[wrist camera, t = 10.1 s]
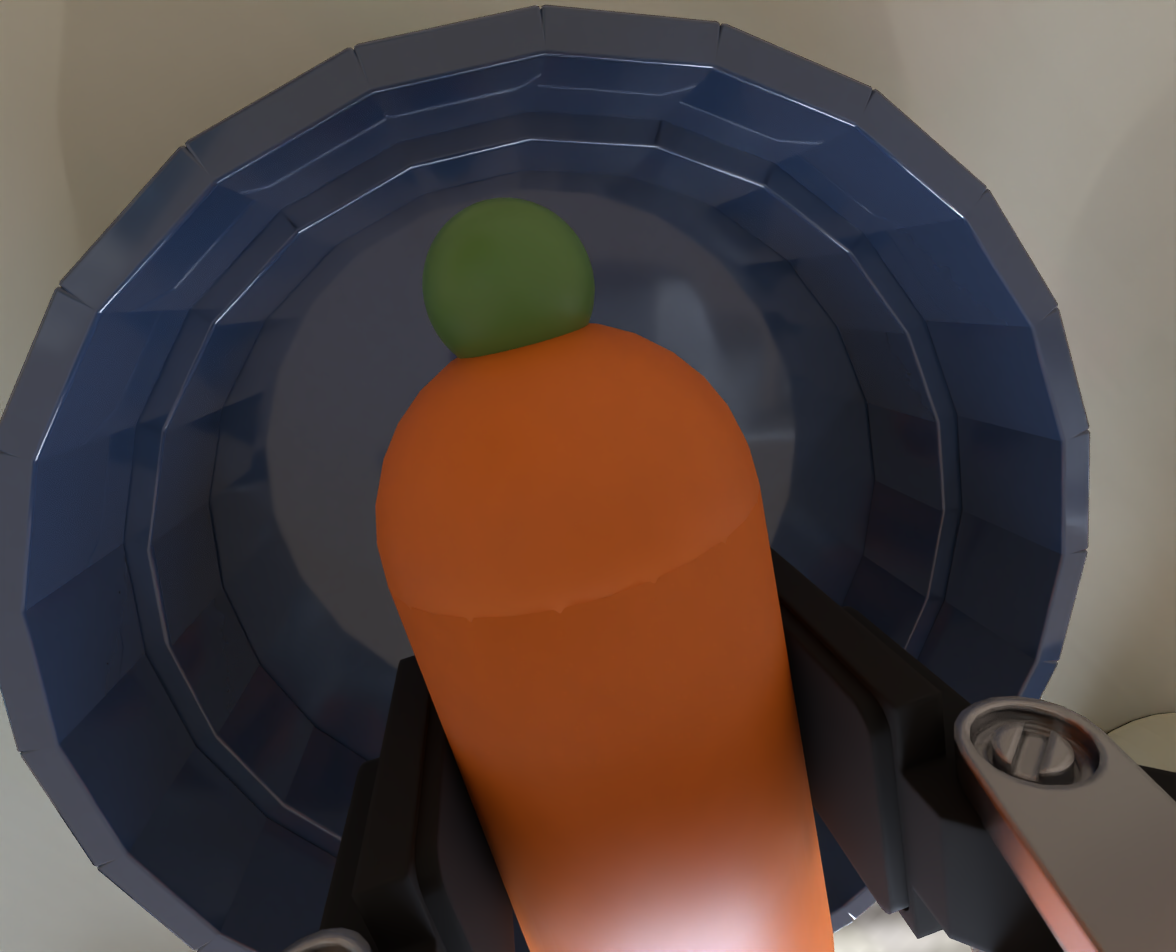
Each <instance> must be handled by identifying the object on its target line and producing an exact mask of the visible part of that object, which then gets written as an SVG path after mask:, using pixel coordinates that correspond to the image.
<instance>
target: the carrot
mask: <svg viewBox="0 0 1176 952" xmlns="http://www.w3.org/2000/svg"><path fill="white" fill-rule="evenodd" d="M422 289H423V298H424V303H425V307H426V311H427V314H428V317H429V319H430V322H431V324H432V326H433V328H434V330H435V331H436V333H437V335H438V336H439V338H440V339H441V340H442V342H443V343H444V344H445V345H446V346H447V348H448V349H449V350H450V351H451V352H452V353H453V354H455V355H456V356H457V358H456V359H454V360H453V361H451V362H450V363H449V364H448V365H447V366H446V367H445V368H444V369H443V370H442V371H440V372H439V373H438V374H437V375H436V376H435V377H434V378H433V379H432V380H431V381H430V382H429V383H428V384H427V385H426V386H425V387H424V388H423V389H422V390H421V391H420V392H419V393H418V395H417V396H416V398H415V399H414V401H413V402H412V404H411V405H410V407H409V408H408V410H407V411H406V413H405V414H404V415H403V417H402V418H401V420H400V421H399V423H398V425H397V427H396V430H395V432H394V435H393V437H392V440H391V442H390V444H389V447H388V449H387V452H386V454H385V457H384V460H383V465H382V471H381V476H380V482H379V488H378V494H377V499H376V505H375V509H376V535H377V547H378V551H379V554H380V558H381V562H382V566H383V570H384V573H385V577H386V581H387V584H388V588H389V590H390V593H391V595H392V598H393V600H394V603H395V606H396V608H397V611H398V613H399V616H400V618H401V621H402V624H403V626H404V629H405V631H406V634H407V636H408V639H409V642H410V644H411V647H412V649H413V652H414V654H415V657H416V660H417V662H418V665H419V667H420V670H421V672H422V675H423V678H424V680H425V683H426V685H427V688H428V690H429V693H430V696H431V698H432V701H433V703H434V706H435V708H436V711H437V714H438V716H439V719H440V721H441V724H442V726H443V729H444V732H445V734H446V737H447V739H448V742H449V744H450V747H451V750H452V752H453V755H454V757H455V760H456V762H457V765H458V768H459V770H460V773H461V775H462V778H463V780H464V783H465V786H466V788H467V791H468V793H469V796H470V798H471V801H472V804H473V806H474V809H475V811H476V814H477V817H478V819H479V822H480V824H481V827H482V829H483V832H484V835H485V837H486V840H487V842H488V845H489V847H490V850H491V853H492V855H493V858H494V860H495V863H496V865H497V868H498V871H499V873H500V876H501V878H502V881H503V883H504V886H505V889H506V891H507V894H508V896H509V899H510V901H511V904H512V907H513V909H514V912H515V914H516V917H517V919H518V922H519V925H520V927H521V930H522V932H523V935H524V937H525V940H526V943H527V945H528V948H529V950H530V952H834V941H833V929H832V923H831V917H830V911H829V905H828V898H827V892H826V886H825V880H824V874H823V868H822V862H821V856H820V850H819V844H818V837H817V831H816V825H815V819H814V813H813V807H812V801H811V795H810V789H809V782H808V776H807V770H806V764H805V758H804V752H803V746H802V740H801V734H800V728H799V721H798V715H797V709H796V703H795V697H794V691H793V685H792V679H791V673H790V666H789V660H788V654H787V648H786V642H785V636H784V630H783V624H782V618H781V612H780V605H779V599H778V593H777V587H776V581H775V575H774V569H773V563H772V557H771V550H770V544H769V538H768V532H767V526H766V520H765V514H764V508H763V502H762V496H761V489H760V484H759V480H758V477H757V473H756V469H755V466H754V462H753V459H752V455H751V452H750V448H749V446H748V444H747V441H746V439H745V437H744V435H743V433H742V431H741V429H740V427H739V425H738V424H737V422H736V420H735V418H734V416H733V414H732V412H731V410H730V408H729V407H728V405H727V404H726V402H725V401H724V400H723V399H722V398H721V396H720V395H719V394H718V393H717V392H716V390H715V389H714V388H713V387H712V386H711V384H710V383H709V382H708V381H707V380H706V378H705V377H704V376H703V375H701V374H700V373H699V372H698V371H696V370H695V369H694V368H692V367H691V366H690V365H689V364H687V363H686V362H685V361H684V360H682V359H681V358H680V357H678V356H677V355H676V354H675V353H673V352H671V351H670V350H668V349H666V348H664V347H662V346H660V345H658V344H656V343H654V342H652V341H650V340H648V339H646V338H644V337H642V336H640V335H637V334H635V333H632V332H628V331H624V330H621V329H617V328H613V327H609V326H605V325H601V324H595V323H589V321H590V318H591V315H592V310H593V305H594V296H595V284H594V276H593V270H592V266H591V263H590V259H589V257H588V254H587V252H586V250H585V247H584V246H583V244H582V242H581V241H580V239H579V237H578V236H577V235H576V233H575V232H574V231H573V230H572V228H571V227H570V226H569V225H568V224H567V223H566V222H565V221H564V220H563V219H562V218H560V217H559V216H558V215H556V214H555V213H554V212H552V211H550V210H549V209H547V208H545V207H543V206H541V205H539V204H536V203H534V202H531V201H527V200H523V199H518V198H493V199H487V200H484V201H481V202H477V203H474V204H472V205H470V206H468V207H466V208H464V209H463V210H461V211H460V212H458V213H457V214H455V215H454V216H453V217H452V218H451V219H450V220H449V221H448V222H447V223H446V224H445V225H444V226H443V227H442V228H441V230H440V231H439V232H438V234H437V235H436V237H435V239H434V240H433V242H432V244H431V246H430V249H429V251H428V253H427V257H426V260H425V264H424V270H423V284H422Z"/></svg>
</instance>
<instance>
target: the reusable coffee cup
mask: <svg viewBox="0 0 1176 952" xmlns="http://www.w3.org/2000/svg"><path fill="white" fill-rule="evenodd" d="M1107 735H1108V736H1109V737H1110V738H1111V739H1112V740H1113V741H1114V742H1115V743H1116V744H1117V745H1118V746H1119V747H1120V748H1121V749H1122V750H1123V751H1124V752H1125V753H1126V754H1127V755H1128V756H1129V757H1130V758H1131V759H1133V760H1134V761H1135V762H1136V763H1137V764H1138V765H1143V766H1147V767H1152V768H1157V769H1162V770H1166V771H1171V772H1176V713H1166V714H1158V715H1152V716H1149V717H1145V718H1142V719H1139V720H1135V721H1132V722H1130V723H1128V724H1126V725H1124V726H1122V727H1120V728H1117V729H1115V730H1113V731H1111V732H1110V733H1108V734H1107Z"/></svg>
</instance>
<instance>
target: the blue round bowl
mask: <svg viewBox="0 0 1176 952" xmlns="http://www.w3.org/2000/svg"><path fill="white" fill-rule="evenodd" d="M185 144H186V147H185V146H181V147H179V148H178V149H177V150H176V151H175V153H174V154H173V155H172V156H171V157H170V158H169V159H168V160H167V162H166V163H165V164H164V165H163V166H162V167H161V168H160V169H159V171H158V172H157V173H156V174H155V175H154V176H153V177H152V179H151V180H150V181H149V182H148V183H147V184H146V185H145V186H144V188H143V189H142V190H141V191H140V192H139V193H138V194H137V195H136V197H135V198H134V199H133V200H132V201H131V202H130V203H129V204H128V206H127V207H126V208H125V209H124V210H123V211H122V212H121V213H120V215H119V216H118V217H117V218H116V219H115V220H114V221H113V222H112V224H111V225H110V226H109V227H108V228H107V229H106V230H105V231H104V233H103V234H102V235H101V236H100V237H99V238H98V239H97V240H96V242H95V243H94V244H93V245H92V246H91V247H90V248H89V249H88V251H87V252H86V253H85V254H84V255H83V256H82V257H81V258H80V260H79V261H78V262H77V263H76V264H75V265H74V266H73V267H72V269H71V270H70V271H69V272H68V273H67V274H66V275H65V276H64V278H63V279H62V280H61V281H60V286H61V287H57V288H56V289H55V291H54V293H53V295H52V298H51V300H50V303H49V305H48V307H47V310H46V312H45V314H44V317H43V319H42V322H41V324H40V326H39V329H38V331H37V334H36V336H35V338H34V341H33V343H32V346H31V348H30V350H29V353H28V355H27V357H26V360H25V362H24V365H23V367H22V369H21V372H20V374H19V377H18V379H17V381H16V384H15V386H14V389H13V391H12V393H11V396H10V398H9V400H8V403H7V405H6V408H5V410H4V412H3V415H2V417H1V420H0V690H1V693H2V697H3V700H4V704H5V708H6V711H7V715H8V718H9V722H10V725H11V729H12V733H13V736H14V740H15V743H16V747H17V750H18V751H19V752H21V753H20V754H21V757H22V758H23V760H24V761H25V763H26V764H27V766H28V767H29V769H30V770H31V772H32V773H33V775H34V776H35V778H36V779H37V781H38V782H39V784H40V785H41V787H42V788H43V790H44V791H45V793H46V794H47V796H48V797H49V799H50V801H51V802H52V804H53V805H54V807H55V808H56V810H57V811H58V813H59V814H60V816H61V817H62V819H63V820H64V822H65V823H66V825H67V826H68V828H69V829H70V831H71V832H72V834H73V835H74V837H75V838H76V840H77V841H78V843H79V844H80V846H81V847H82V849H83V850H84V852H85V853H86V855H87V856H88V858H89V859H90V861H91V862H92V864H93V865H94V866H98V867H97V868H98V870H99V871H100V872H101V873H102V874H104V875H105V876H106V877H107V878H108V879H109V880H111V881H112V882H113V883H114V884H115V885H117V886H118V887H119V888H120V889H121V890H123V891H124V892H125V893H126V894H127V895H128V896H130V897H131V898H132V899H133V900H134V901H136V902H137V903H138V904H139V905H140V906H142V907H143V908H144V909H145V910H146V911H147V912H149V913H150V914H151V915H152V916H153V917H155V918H156V919H157V920H158V921H159V922H160V923H162V924H163V925H164V926H165V927H166V928H168V929H169V930H170V931H171V932H172V933H174V934H175V935H176V936H177V937H178V938H179V939H181V940H182V941H183V942H184V943H185V944H187V945H188V946H189V947H190V948H191V949H193V950H197V952H281V951H283V950H284V949H286V948H287V947H289V946H290V945H292V944H293V943H294V942H296V941H297V940H299V939H300V938H303V937H305V936H308V935H310V934H313V933H315V932H317V931H319V929H320V925H321V921H322V917H323V913H324V908H325V904H326V900H327V896H328V892H329V888H330V884H331V880H332V876H333V871H334V867H335V863H336V859H337V855H338V851H339V847H340V843H341V839H342V834H343V830H344V826H345V822H346V818H347V814H348V810H349V806H350V802H351V797H352V793H353V789H354V785H355V781H356V777H357V773H358V771H359V768H360V766H361V765H362V764H363V763H364V762H366V761H369V760H372V759H376V758H379V757H380V753H381V748H382V743H383V738H384V733H385V728H386V723H387V718H388V713H389V708H390V704H391V699H392V694H393V689H394V684H395V679H396V674H397V669H398V664H399V662H400V660H402V659H404V658H408V657H411V656H414V655H415V654H414V652H413V649H412V647H411V644H410V642H409V639H408V636H407V634H406V631H405V629H404V626H403V624H402V621H401V618H400V616H399V613H398V611H397V608H396V606H395V603H394V600H393V598H392V595H391V593H390V590H389V588H388V584H387V581H386V577H385V573H384V570H383V566H382V562H381V558H380V554H379V551H378V547H377V535H376V509H375V505H376V499H377V494H378V488H379V482H380V476H381V471H382V465H383V460H384V457H385V454H386V452H387V449H388V447H389V444H390V442H391V440H392V437H393V435H394V432H395V430H396V427H397V425H398V423H399V421H400V420H401V418H402V417H403V415H404V414H405V413H406V411H407V410H408V408H409V407H410V405H411V404H412V402H413V401H414V399H415V398H416V396H417V395H418V393H419V392H420V391H421V390H422V389H423V388H424V387H425V386H426V385H427V384H428V383H429V382H430V381H431V380H432V379H433V378H434V377H435V376H436V375H437V374H438V373H439V372H440V371H442V370H443V369H444V368H445V367H446V366H447V365H448V364H449V363H450V362H451V361H453V360H454V359H456V358H457V356H456V355H455V354H453V353H452V352H451V351H450V350H449V349H448V348H447V346H446V345H445V344H444V343H443V342H442V340H441V339H440V338H439V336H438V335H437V333H436V331H435V330H434V328H433V326H432V324H431V322H430V319H429V317H428V314H427V311H426V307H425V303H424V298H423V289H422V284H423V270H424V264H425V260H426V257H427V253H428V251H429V249H430V246H431V244H432V242H433V240H434V239H435V237H436V235H437V234H438V232H439V231H440V230H441V228H442V227H443V226H444V225H445V224H446V223H447V222H448V221H449V220H450V219H451V218H452V217H453V216H454V215H455V214H457V213H458V212H460V211H461V210H463V209H464V208H466V207H468V206H470V205H472V204H474V203H477V202H481V201H484V200H487V199H493V198H518V199H523V200H527V201H531V202H534V203H536V204H539V205H541V206H543V207H545V208H547V209H549V210H550V211H552V212H554V213H555V214H556V215H558V216H559V217H560V218H562V219H563V220H564V221H565V222H566V223H567V224H568V225H569V226H570V227H571V228H572V230H573V231H574V232H575V233H576V235H577V236H578V237H579V239H580V241H581V242H582V244H583V246H584V247H585V250H586V252H587V254H588V257H589V259H590V263H591V266H592V270H593V276H594V284H595V296H594V305H593V310H592V315H591V318H590V321H589V323H595V324H601V325H605V326H609V327H613V328H617V329H621V330H624V331H628V332H632V333H635V334H637V335H640V336H642V337H644V338H646V339H648V340H650V341H652V342H654V343H656V344H658V345H660V346H662V347H664V348H666V349H668V350H670V351H671V352H673V353H675V354H676V355H677V356H678V357H680V358H681V359H682V360H684V361H685V362H686V363H687V364H689V365H690V366H691V367H692V368H694V369H695V370H696V371H698V372H699V373H700V374H701V375H703V376H704V377H705V378H706V380H707V381H708V382H709V383H710V384H711V386H712V387H713V388H714V389H715V390H716V392H717V393H718V394H719V395H720V396H721V398H722V399H723V400H724V401H725V402H726V404H727V405H728V407H729V408H730V410H731V412H732V414H733V416H734V418H735V420H736V422H737V424H738V425H739V427H740V429H741V431H742V433H743V435H744V437H745V439H746V441H747V444H748V446H749V448H750V452H751V455H752V459H753V462H754V466H755V469H756V473H757V477H758V480H759V484H760V489H761V496H762V502H763V508H764V514H765V520H766V526H767V532H768V538H769V544H770V547H771V548H772V549H774V550H775V551H776V552H777V553H778V554H779V555H781V556H782V557H783V558H784V559H785V560H787V561H788V562H789V563H790V564H791V565H792V566H794V567H795V568H796V569H797V570H798V571H799V572H801V573H802V574H803V575H804V576H805V577H807V578H808V579H809V580H810V581H811V582H812V583H814V584H815V585H816V586H817V587H818V588H819V589H821V590H822V591H823V592H824V593H825V594H827V595H828V596H829V597H830V598H831V599H832V600H834V601H835V602H836V603H837V604H838V605H839V606H841V607H844V606H849V607H852V608H854V609H855V610H857V611H859V612H860V613H861V614H862V615H863V616H865V617H866V618H867V619H868V620H870V621H871V622H872V623H873V624H874V625H876V626H877V627H878V628H879V629H880V630H882V631H883V632H884V633H885V634H887V635H888V636H889V637H890V638H891V639H893V640H894V641H895V642H896V643H897V644H899V645H900V646H901V647H902V648H904V649H905V650H906V651H907V652H908V653H910V654H911V655H912V656H913V657H914V658H916V659H917V660H918V661H919V662H921V663H922V664H923V665H924V666H925V667H927V668H928V669H929V670H930V671H931V672H933V673H934V674H935V675H936V676H938V677H939V678H940V679H941V680H942V681H944V682H945V683H946V684H947V685H949V686H950V687H951V688H952V689H953V690H955V691H956V692H957V693H958V694H959V695H961V696H962V697H963V698H964V699H966V700H967V701H968V702H969V703H970V704H973V703H974V702H977V701H981V700H984V699H988V698H992V697H1005V696H1019V697H1027V698H1034V699H1040V698H1041V696H1042V694H1043V692H1044V690H1045V688H1046V686H1047V684H1048V682H1049V680H1050V678H1051V676H1052V674H1053V672H1054V670H1055V668H1056V667H1057V665H1058V662H1057V661H1058V660H1059V659H1060V656H1061V652H1062V648H1063V645H1064V641H1065V637H1066V633H1067V629H1068V626H1069V622H1070V618H1071V614H1072V610H1073V606H1074V603H1075V599H1076V595H1077V591H1078V587H1079V583H1080V580H1081V576H1082V572H1083V568H1084V564H1085V561H1086V557H1087V550H1086V549H1087V548H1088V534H1089V467H1090V432H1089V431H1088V429H1089V423H1088V420H1087V416H1086V412H1085V408H1084V404H1083V400H1082V396H1081V392H1080V388H1079V384H1078V381H1077V377H1076V373H1075V369H1074V365H1073V361H1072V357H1071V353H1070V349H1069V346H1068V342H1067V338H1066V334H1065V330H1064V326H1063V322H1062V318H1061V314H1060V311H1059V309H1058V308H1057V306H1058V303H1057V302H1056V300H1055V298H1054V297H1053V295H1052V293H1051V292H1050V290H1049V288H1048V287H1047V285H1046V283H1045V282H1044V280H1043V278H1042V277H1041V275H1040V273H1039V272H1038V270H1037V268H1036V267H1035V265H1034V263H1033V262H1032V260H1031V258H1030V257H1029V255H1028V253H1027V252H1026V250H1025V248H1024V247H1023V245H1022V243H1021V242H1020V240H1019V238H1018V237H1017V235H1016V233H1015V232H1014V230H1013V228H1012V227H1011V225H1010V223H1009V222H1008V220H1007V218H1006V217H1005V215H1004V213H1003V212H1002V210H1001V208H1000V207H999V205H998V203H997V202H996V200H995V198H994V197H993V195H992V193H991V192H990V190H989V189H986V188H987V187H986V185H984V184H983V183H982V182H981V181H980V180H979V179H978V178H976V177H975V176H974V175H973V174H972V173H971V172H970V171H969V170H967V169H966V168H965V167H964V166H963V165H962V164H961V163H959V162H958V161H957V160H956V159H955V158H954V157H953V156H952V155H950V154H949V153H948V152H947V151H946V150H945V149H944V148H943V147H941V146H940V145H939V144H938V143H937V142H936V141H935V140H933V139H932V138H931V137H930V136H929V135H928V134H927V133H926V132H924V131H923V130H922V129H921V128H920V127H919V126H918V125H916V124H915V123H914V122H913V121H912V120H911V119H910V118H909V117H907V116H906V115H905V114H904V113H903V112H902V111H901V110H900V109H898V108H897V107H896V106H895V105H894V104H893V103H892V102H890V101H889V100H888V99H887V98H886V97H885V96H884V95H883V94H881V93H880V92H879V91H878V90H876V89H873V90H872V87H871V86H868V85H866V84H864V83H861V82H859V81H857V80H854V79H852V78H850V77H847V76H845V75H843V74H841V73H838V72H836V71H834V70H831V69H829V68H827V67H824V66H822V65H820V64H818V63H815V62H813V61H811V60H808V59H806V58H804V57H801V56H799V55H797V54H795V53H792V52H790V51H788V50H785V49H783V48H781V47H778V46H776V45H774V44H772V43H769V42H767V41H765V40H762V39H760V38H758V37H755V36H753V35H751V34H749V33H746V32H744V31H742V30H739V29H737V28H735V27H732V26H730V25H728V24H721V25H720V23H719V22H717V21H707V20H697V19H687V18H677V17H666V16H656V15H646V14H635V13H625V12H615V11H604V10H594V9H584V8H574V7H563V6H553V5H543V6H541V9H540V8H539V6H535V5H534V6H529V7H525V8H520V9H516V10H511V11H506V12H502V13H497V14H493V15H488V16H483V17H479V18H474V19H470V20H465V21H460V22H456V23H451V24H447V25H442V26H437V27H433V28H428V29H424V30H419V31H414V32H410V33H405V34H401V35H396V36H391V37H387V38H382V39H378V40H373V41H368V42H364V43H359V44H357V45H355V46H354V50H353V49H352V48H346V49H344V50H342V51H341V52H339V53H337V54H336V55H334V56H332V57H330V58H329V59H327V60H325V61H323V62H322V63H320V64H318V65H317V66H315V67H313V68H311V69H310V70H308V71H306V72H305V73H303V74H301V75H299V76H298V77H296V78H294V79H292V80H291V81H289V82H287V83H286V84H284V85H282V86H280V87H279V88H277V89H275V90H273V91H272V92H270V93H268V94H267V95H265V96H263V97H261V98H260V99H258V100H256V101H255V102H253V103H251V104H249V105H248V106H246V107H244V108H242V109H241V110H239V111H237V112H236V113H234V114H232V115H230V116H229V117H227V118H225V119H224V120H222V121H220V122H218V123H217V124H215V125H213V126H211V127H210V128H208V129H206V130H205V131H203V132H201V133H199V134H198V135H196V136H194V137H192V138H191V139H189V140H188V141H187V142H186V143H185ZM812 807H813V813H814V819H815V825H816V831H817V837H818V844H819V850H820V856H821V862H822V868H823V874H824V880H825V886H826V892H827V898H828V905H829V911H830V917H831V923H832V929H833V933H835V932H836V931H838V930H840V929H842V928H843V927H845V926H847V925H848V924H850V923H852V922H853V921H854V919H857V918H858V917H859V916H860V915H861V914H863V913H864V912H865V911H866V910H867V909H868V908H870V907H871V906H872V905H873V904H874V903H875V902H877V901H876V900H875V898H874V897H873V895H872V894H871V892H870V891H869V889H868V888H867V886H866V885H865V883H864V882H863V880H862V879H861V877H860V876H859V874H858V873H857V871H856V870H855V868H854V867H853V865H852V864H851V862H850V861H849V859H848V858H847V856H846V855H845V853H844V852H843V850H842V849H841V847H840V846H839V844H838V843H837V841H836V840H835V838H834V836H833V835H832V833H831V832H830V830H829V829H828V827H827V826H826V824H825V823H824V821H823V820H822V818H821V817H820V815H819V814H818V812H817V811H816V809H815V808H814V806H813V805H812ZM512 911H513V927H514V943H515V952H530V950H529V948H528V945H527V943H526V940H525V937H524V935H523V932H522V930H521V927H520V925H519V922H518V919H517V917H516V914H515V912H514V909H513V907H512Z"/></svg>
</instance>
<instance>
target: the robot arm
mask: <svg viewBox="0 0 1176 952" xmlns="http://www.w3.org/2000/svg"><path fill="white" fill-rule="evenodd" d="M770 550H771V557H772V563H773V569H774V575H775V581H776V587H777V593H778V599H779V605H780V612H781V618H782V624H783V630H784V636H785V642H786V648H787V654H788V660H789V666H790V673H791V679H792V685H793V691H794V697H795V703H796V709H797V715H798V721H799V728H800V734H801V740H802V746H803V752H804V758H805V764H806V770H807V776H808V782H809V789H810V795H811V801H812V805H813V806H814V808H815V809H816V811H817V812H818V814H819V815H820V817H821V818H822V820H823V821H824V823H825V824H826V826H827V827H828V829H829V830H830V832H831V833H832V835H833V836H834V838H835V840H836V841H837V843H838V844H839V846H840V847H841V849H842V850H843V852H844V853H845V855H846V856H847V858H848V859H849V861H850V862H851V864H852V865H853V867H854V868H855V870H856V871H857V873H858V874H859V876H860V877H861V879H862V880H863V882H864V883H865V885H866V886H867V888H868V889H869V891H870V892H871V894H872V895H873V897H874V898H875V900H876V901H877V903H878V904H879V905H880V907H881V908H882V909H883V910H884V911H885V912H886V913H888V914H891V913H894V912H896V911H899V913H900V914H901V915H902V917H903V918H904V920H905V921H906V923H907V924H908V926H909V927H910V929H911V930H912V931H913V933H914V934H915V936H916V937H917V939H919V938H922V937H924V936H927V935H930V934H932V933H935V932H937V931H940V930H944V931H945V932H946V934H947V935H948V937H949V938H951V939H954V940H956V941H959V942H961V943H964V944H966V945H969V946H970V947H971V950H972V952H1176V772H1171V771H1166V770H1162V769H1157V768H1152V767H1147V766H1143V765H1138V764H1137V763H1136V762H1135V761H1134V760H1133V759H1131V758H1130V757H1129V756H1128V755H1127V754H1126V753H1125V752H1124V751H1123V750H1122V749H1121V748H1120V747H1119V746H1118V745H1117V744H1116V743H1115V742H1114V741H1113V740H1112V739H1111V738H1110V737H1109V736H1108V735H1107V734H1106V733H1105V732H1104V731H1103V730H1101V729H1100V728H1099V727H1097V726H1096V725H1095V724H1093V723H1092V722H1091V721H1090V720H1088V719H1087V718H1086V717H1084V716H1082V715H1080V714H1078V713H1076V712H1074V711H1071V710H1069V709H1067V708H1065V707H1063V706H1060V705H1057V704H1054V703H1050V702H1047V701H1044V700H1040V699H1034V698H1027V697H1019V696H1005V697H992V698H988V699H984V700H981V701H977V702H974V703H973V704H970V703H969V702H968V701H967V700H966V699H964V698H963V697H962V696H961V695H959V694H958V693H957V692H956V691H955V690H953V689H952V688H951V687H950V686H949V685H947V684H946V683H945V682H944V681H942V680H941V679H940V678H939V677H938V676H936V675H935V674H934V673H933V672H931V671H930V670H929V669H928V668H927V667H925V666H924V665H923V664H922V663H921V662H919V661H918V660H917V659H916V658H914V657H913V656H912V655H911V654H910V653H908V652H907V651H906V650H905V649H904V648H902V647H901V646H900V645H899V644H897V643H896V642H895V641H894V640H893V639H891V638H890V637H889V636H888V635H887V634H885V633H884V632H883V631H882V630H880V629H879V628H878V627H877V626H876V625H874V624H873V623H872V622H871V621H870V620H868V619H867V618H866V617H865V616H863V615H862V614H861V613H860V612H859V611H857V610H855V609H854V608H852V607H849V606H844V607H841V606H839V605H838V604H837V603H836V602H835V601H834V600H832V599H831V598H830V597H829V596H828V595H827V594H825V593H824V592H823V591H822V590H821V589H819V588H818V587H817V586H816V585H815V584H814V583H812V582H811V581H810V580H809V579H808V578H807V577H805V576H804V575H803V574H802V573H801V572H799V571H798V570H797V569H796V568H795V567H794V566H792V565H791V564H790V563H789V562H788V561H787V560H785V559H784V558H783V557H782V556H781V555H779V554H778V553H777V552H776V551H775V550H774V549H772V548H771V547H770ZM281 952H515V943H514V927H513V911H512V904H511V901H510V899H509V896H508V894H507V891H506V889H505V886H504V883H503V881H502V878H501V876H500V873H499V871H498V868H497V865H496V863H495V860H494V858H493V855H492V853H491V850H490V847H489V845H488V842H487V840H486V837H485V835H484V832H483V829H482V827H481V824H480V822H479V819H478V817H477V814H476V811H475V809H474V806H473V804H472V801H471V798H470V796H469V793H468V791H467V788H466V786H465V783H464V780H463V778H462V775H461V773H460V770H459V768H458V765H457V762H456V760H455V757H454V755H453V752H452V750H451V747H450V744H449V742H448V739H447V737H446V734H445V732H444V729H443V726H442V724H441V721H440V719H439V716H438V714H437V711H436V708H435V706H434V703H433V701H432V698H431V696H430V693H429V690H428V688H427V685H426V683H425V680H424V678H423V675H422V672H421V670H420V667H419V665H418V662H417V660H416V657H415V655H414V656H411V657H408V658H404V659H402V660H400V662H399V664H398V669H397V674H396V679H395V684H394V689H393V694H392V699H391V704H390V708H389V713H388V718H387V723H386V728H385V733H384V738H383V743H382V748H381V753H380V757H379V758H376V759H372V760H369V761H366V762H364V763H363V764H362V765H361V766H360V768H359V771H358V773H357V777H356V781H355V785H354V789H353V793H352V797H351V802H350V806H349V810H348V814H347V818H346V822H345V826H344V830H343V834H342V839H341V843H340V847H339V851H338V855H337V859H336V863H335V867H334V871H333V876H332V880H331V884H330V888H329V892H328V896H327V900H326V904H325V908H324V913H323V917H322V921H321V925H320V929H319V931H317V932H315V933H313V934H310V935H308V936H305V937H303V938H300V939H299V940H297V941H296V942H294V943H293V944H292V945H290V946H289V947H287V948H286V949H284V950H283V951H281Z"/></svg>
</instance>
